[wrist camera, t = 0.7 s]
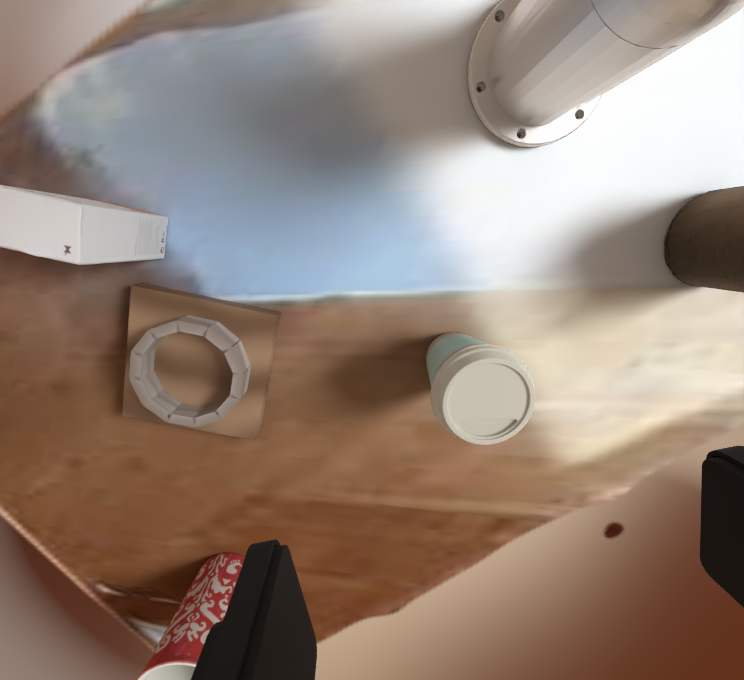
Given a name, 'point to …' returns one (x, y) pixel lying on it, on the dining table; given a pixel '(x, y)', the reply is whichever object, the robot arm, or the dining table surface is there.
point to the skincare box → (78, 228)
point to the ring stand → (198, 361)
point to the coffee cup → (478, 388)
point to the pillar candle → (709, 241)
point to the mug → (195, 619)
